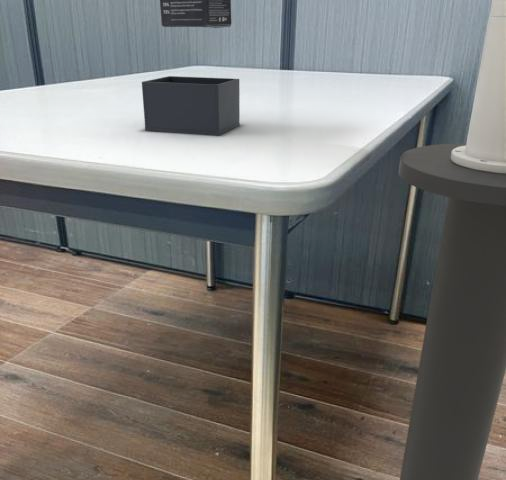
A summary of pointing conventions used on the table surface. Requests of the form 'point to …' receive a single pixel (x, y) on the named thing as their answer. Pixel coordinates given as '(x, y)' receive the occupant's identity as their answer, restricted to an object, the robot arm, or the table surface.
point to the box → (195, 13)
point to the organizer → (191, 105)
